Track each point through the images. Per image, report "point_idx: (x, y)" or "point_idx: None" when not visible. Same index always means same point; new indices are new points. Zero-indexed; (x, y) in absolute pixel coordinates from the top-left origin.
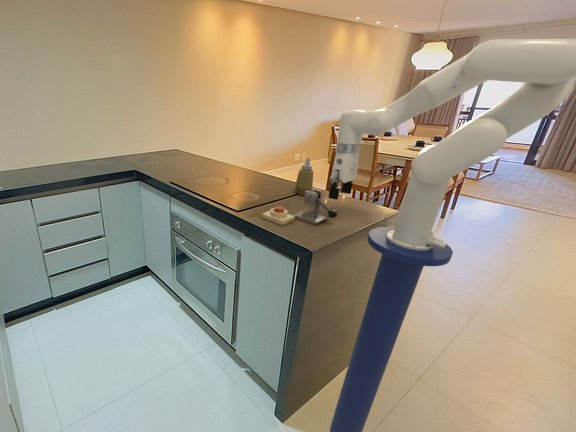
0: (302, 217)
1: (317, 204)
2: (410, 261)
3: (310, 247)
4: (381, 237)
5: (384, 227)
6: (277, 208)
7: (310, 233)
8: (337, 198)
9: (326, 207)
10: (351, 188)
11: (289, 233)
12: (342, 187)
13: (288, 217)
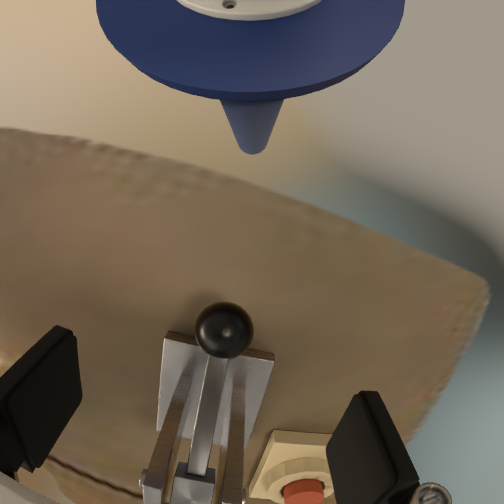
0: (252, 419)
1: (179, 429)
2: None
3: (484, 291)
4: (288, 36)
5: (133, 50)
6: (320, 500)
7: (378, 339)
8: (378, 396)
9: (222, 388)
10: (27, 355)
11: (413, 390)
12: (61, 430)
13: (305, 451)
